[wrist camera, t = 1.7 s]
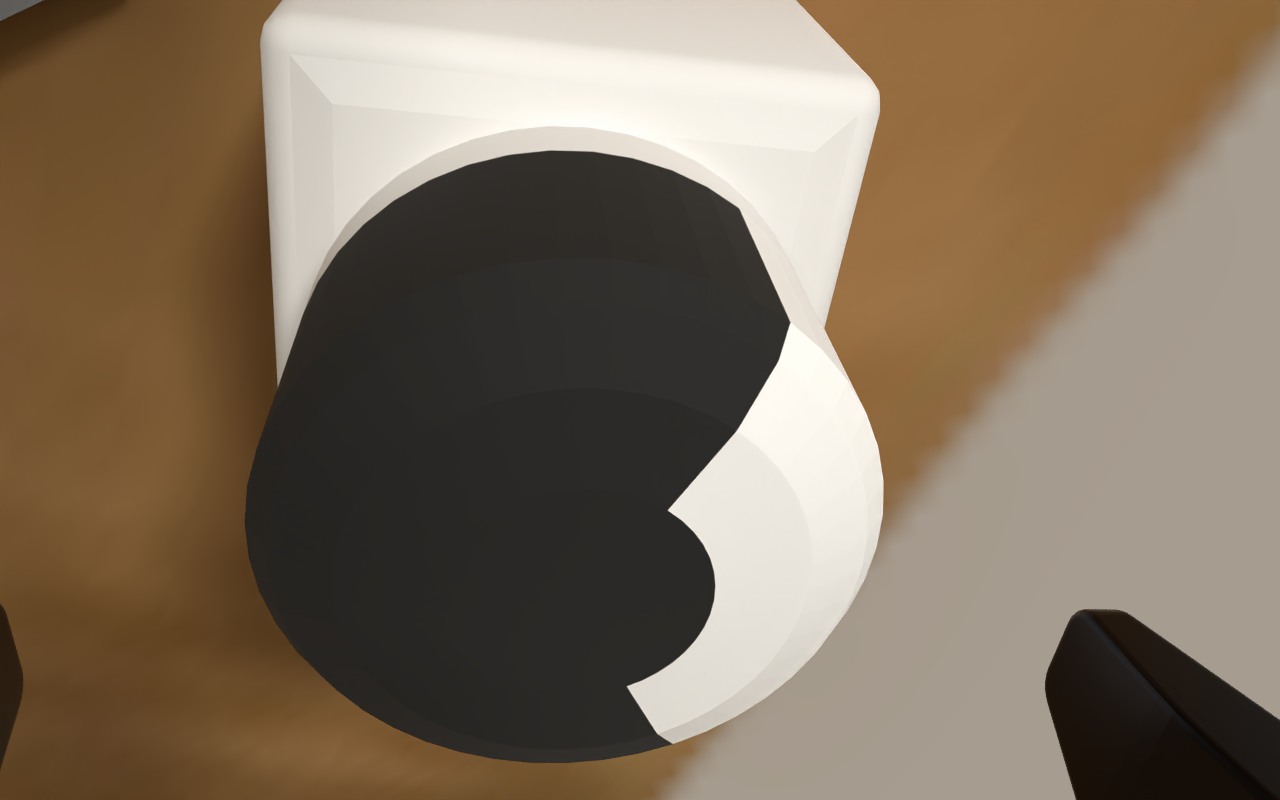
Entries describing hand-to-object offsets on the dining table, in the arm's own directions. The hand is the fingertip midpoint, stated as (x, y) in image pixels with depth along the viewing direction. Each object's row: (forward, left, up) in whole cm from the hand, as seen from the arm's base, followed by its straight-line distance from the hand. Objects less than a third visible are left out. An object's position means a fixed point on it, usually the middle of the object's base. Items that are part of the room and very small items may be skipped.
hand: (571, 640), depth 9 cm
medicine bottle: (0, 0, -13) cm, 13 cm away
